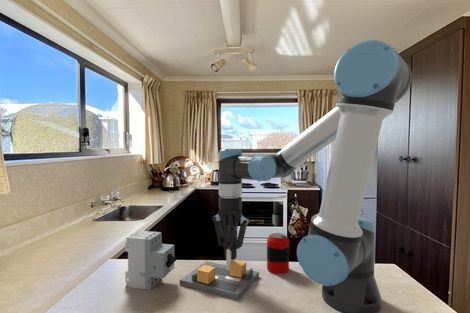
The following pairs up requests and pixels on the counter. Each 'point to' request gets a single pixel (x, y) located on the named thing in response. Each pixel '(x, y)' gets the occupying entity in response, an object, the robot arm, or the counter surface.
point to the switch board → (222, 281)
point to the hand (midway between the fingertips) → (230, 268)
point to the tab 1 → (206, 274)
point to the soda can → (278, 253)
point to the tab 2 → (237, 268)
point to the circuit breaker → (147, 259)
